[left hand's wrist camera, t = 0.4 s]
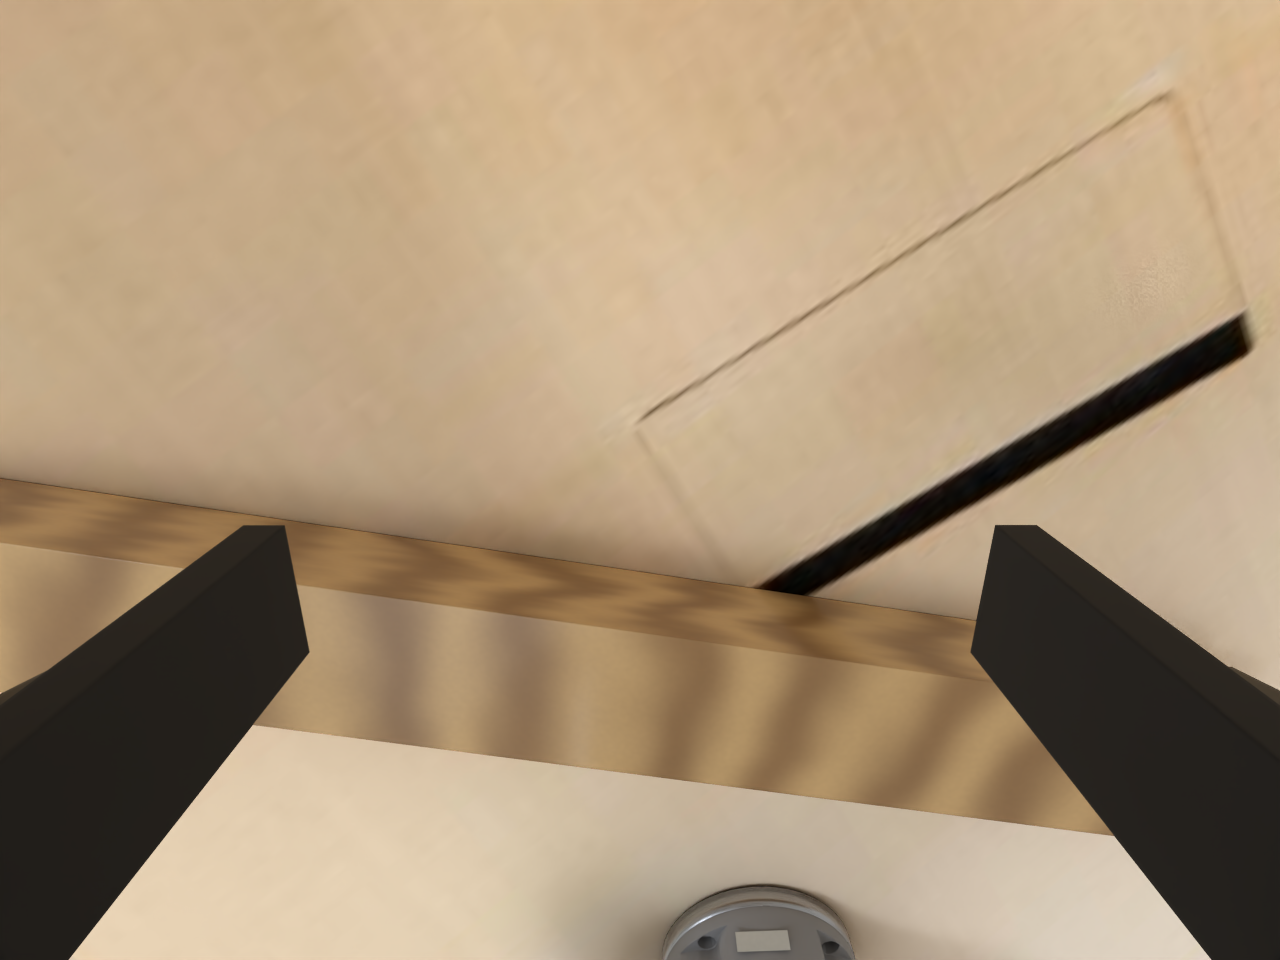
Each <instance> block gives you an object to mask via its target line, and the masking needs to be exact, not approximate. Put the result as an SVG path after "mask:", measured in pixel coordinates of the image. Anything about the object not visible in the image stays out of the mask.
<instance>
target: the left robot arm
mask: <svg viewBox="0 0 1280 960" xmlns="http://www.w3.org/2000/svg"><path fill="white" fill-rule="evenodd" d="M309 653H310V651H309V646H308V641H307V636H306V631H305V626H304V620H303V615H302V610H301V605H300V600H299V595H298V590H297V585H296V580H295V575H294V570H293V565H292V559H291V554H290V549H289V544H288V539H287V534H286V529H285V525H243V526H242V527H240V528H239V529H238V530H236V531H235V532H233V533H232V534H231V535H229V536H228V537H227V538H225V539H224V540H223V541H221V542H220V543H219V544H217V545H216V546H215V547H213V548H212V549H211V550H209V551H208V552H206V553H205V554H204V555H202V556H201V557H200V558H198V559H197V560H196V561H194V562H193V563H192V564H190V565H189V566H188V567H186V568H185V569H183V570H182V571H181V572H179V573H178V574H177V575H175V576H174V577H173V578H171V579H170V580H169V581H167V582H166V583H165V584H163V585H162V586H161V587H159V588H158V589H156V590H155V591H154V592H152V593H151V594H150V595H148V596H147V597H146V598H144V599H143V600H142V601H140V602H139V603H138V604H136V605H135V606H134V607H132V608H131V609H129V610H128V611H127V612H125V613H124V614H123V615H121V616H120V617H119V618H117V619H116V620H115V621H113V622H112V623H111V624H109V625H108V626H107V627H105V628H104V629H102V630H101V631H100V632H98V633H97V634H96V635H94V636H93V637H92V638H90V639H89V640H88V641H86V642H85V643H84V644H82V645H81V646H80V647H78V648H77V649H75V650H74V651H73V652H71V653H70V654H69V655H67V656H66V657H65V658H63V659H62V660H61V661H59V662H58V663H57V664H55V665H54V666H52V667H51V668H50V669H48V670H47V671H45V672H43V673H41V674H39V675H37V676H35V677H33V678H31V679H29V680H27V681H25V682H23V683H21V684H19V685H17V686H15V687H13V688H11V689H9V690H7V691H5V692H3V693H1V694H0V960H69V958H70V957H71V956H72V955H73V953H74V952H75V951H76V950H77V948H78V947H79V946H80V944H81V943H82V942H83V941H84V939H85V938H86V937H87V936H88V934H89V933H90V932H91V930H92V929H93V928H94V927H95V925H96V924H97V923H98V922H99V920H100V919H101V918H102V916H103V915H104V914H105V913H106V911H107V910H108V909H109V907H110V906H111V905H112V904H113V902H114V901H115V900H116V899H117V897H118V896H119V895H120V893H121V892H122V891H123V890H124V888H125V887H126V886H127V885H128V883H129V882H130V881H131V879H132V878H133V877H134V876H135V874H136V873H137V872H138V871H139V869H140V868H141V867H142V865H143V864H144V863H145V862H146V860H147V859H148V858H149V857H150V855H151V854H152V853H153V851H154V850H155V849H156V848H157V846H158V845H159V844H160V842H161V841H162V840H163V839H164V837H165V836H166V835H167V834H168V832H169V831H170V830H171V828H172V827H173V826H174V825H175V823H176V822H177V821H178V820H179V818H180V817H181V816H182V814H183V813H184V812H185V811H186V809H187V808H188V807H189V806H190V804H191V803H192V802H193V800H194V799H195V798H196V797H197V795H198V794H199V793H200V792H201V790H202V789H203V788H204V786H205V785H206V784H207V783H208V781H209V780H210V779H211V778H212V776H213V775H214V774H215V772H216V771H217V770H218V769H219V767H220V766H221V765H222V763H223V762H224V761H225V760H226V758H227V757H228V756H229V755H230V753H231V752H232V751H233V749H234V748H235V747H236V746H237V744H238V743H239V742H240V741H241V739H242V738H243V737H244V735H245V734H246V733H247V732H248V730H249V729H250V728H251V727H252V725H253V724H254V723H255V721H256V720H257V719H258V718H259V716H260V715H261V714H262V713H263V711H264V710H265V709H266V707H267V706H268V705H269V704H270V702H271V701H272V700H273V698H274V697H275V696H276V695H277V693H278V692H279V691H280V690H281V688H282V687H283V686H284V684H285V683H286V682H287V681H288V679H289V678H290V677H291V676H292V674H293V673H294V672H295V670H296V669H297V668H298V667H299V665H300V664H301V663H302V662H303V660H304V659H305V658H306V656H307V655H308V654H309ZM970 653H971V654H972V655H973V656H974V658H975V659H976V660H977V662H978V663H979V664H980V665H981V667H982V668H983V669H984V670H985V672H986V673H987V674H988V676H989V677H990V678H991V679H992V681H993V682H994V683H995V684H996V686H997V687H998V688H999V690H1000V691H1001V692H1002V693H1003V695H1004V696H1005V697H1006V699H1007V700H1008V701H1009V702H1010V704H1011V705H1012V706H1013V707H1014V709H1015V710H1016V711H1017V713H1018V714H1019V715H1020V716H1021V718H1022V719H1023V720H1024V721H1025V723H1026V724H1027V725H1028V727H1029V728H1030V729H1031V730H1032V732H1033V733H1034V734H1035V735H1036V737H1037V738H1038V739H1039V741H1040V742H1041V743H1042V744H1043V746H1044V747H1045V748H1046V749H1047V751H1048V752H1049V753H1050V755H1051V756H1052V757H1053V758H1054V760H1055V761H1056V762H1057V763H1058V765H1059V766H1060V767H1061V769H1062V770H1063V771H1064V772H1065V774H1066V775H1067V776H1068V778H1069V779H1070V780H1071V781H1072V783H1073V784H1074V785H1075V786H1076V788H1077V789H1078V790H1079V792H1080V793H1081V794H1082V795H1083V797H1084V798H1085V799H1086V800H1087V802H1088V803H1089V804H1090V806H1091V807H1092V808H1093V809H1094V811H1095V812H1096V813H1097V814H1098V816H1099V817H1100V818H1101V820H1102V821H1103V822H1104V823H1105V825H1106V826H1107V827H1108V828H1109V830H1110V831H1111V832H1112V834H1113V835H1114V836H1115V837H1116V839H1117V840H1118V841H1119V842H1120V844H1121V845H1122V846H1123V848H1124V849H1125V850H1126V851H1127V853H1128V854H1129V855H1130V857H1131V858H1132V859H1133V860H1134V862H1135V863H1136V864H1137V865H1138V867H1139V868H1140V869H1141V871H1142V872H1143V873H1144V874H1145V876H1146V877H1147V878H1148V879H1149V881H1150V882H1151V883H1152V885H1153V886H1154V887H1155V888H1156V890H1157V891H1158V892H1159V893H1160V895H1161V896H1162V897H1163V899H1164V900H1165V901H1166V902H1167V904H1168V905H1169V906H1170V907H1171V909H1172V910H1173V911H1174V913H1175V914H1176V915H1177V916H1178V918H1179V919H1180V920H1181V922H1182V923H1183V924H1184V925H1185V927H1186V928H1187V929H1188V930H1189V932H1190V933H1191V934H1192V936H1193V937H1194V938H1195V939H1196V941H1197V942H1198V943H1199V944H1200V946H1201V947H1202V948H1203V950H1204V951H1205V952H1206V953H1207V955H1208V956H1209V957H1210V958H1211V960H1280V691H1279V690H1277V689H1275V688H1273V687H1271V686H1269V685H1267V684H1265V683H1263V682H1261V681H1259V680H1257V679H1255V678H1253V677H1251V676H1249V675H1247V674H1245V673H1243V672H1241V671H1239V670H1237V669H1235V668H1233V667H1228V666H1226V665H1225V664H1223V663H1222V662H1221V661H1219V660H1218V659H1217V658H1215V657H1214V656H1213V655H1211V654H1210V653H1209V652H1207V651H1206V650H1205V649H1203V648H1202V647H1200V646H1199V645H1198V644H1196V643H1195V642H1194V641H1192V640H1191V639H1190V638H1188V637H1187V636H1186V635H1184V634H1183V633H1182V632H1180V631H1179V630H1178V629H1176V628H1175V627H1173V626H1172V625H1171V624H1169V623H1168V622H1167V621H1165V620H1164V619H1163V618H1161V617H1160V616H1159V615H1157V614H1156V613H1155V612H1153V611H1152V610H1151V609H1149V608H1148V607H1146V606H1145V605H1144V604H1142V603H1141V602H1140V601H1138V600H1137V599H1136V598H1134V597H1133V596H1132V595H1130V594H1129V593H1128V592H1126V591H1125V590H1124V589H1122V588H1121V587H1119V586H1118V585H1117V584H1115V583H1114V582H1113V581H1111V580H1110V579H1109V578H1107V577H1106V576H1105V575H1103V574H1102V573H1101V572H1099V571H1098V570H1097V569H1095V568H1094V567H1092V566H1091V565H1090V564H1088V563H1087V562H1086V561H1084V560H1083V559H1082V558H1080V557H1079V556H1078V555H1076V554H1075V553H1074V552H1072V551H1071V550H1069V549H1068V548H1067V547H1065V546H1064V545H1063V544H1061V543H1060V542H1059V541H1057V540H1056V539H1055V538H1053V537H1052V536H1051V535H1049V534H1048V533H1047V532H1045V531H1044V530H1042V529H1041V528H1040V527H1038V526H1037V525H995V529H994V534H993V539H992V544H991V549H990V554H989V559H988V565H987V570H986V575H985V580H984V585H983V590H982V595H981V600H980V605H979V610H978V615H977V620H976V626H975V631H974V636H973V641H972V646H971V651H970ZM662 960H855V956H854V952H853V949H852V946H851V942H850V939H849V935H848V932H847V930H846V928H845V926H844V924H843V922H842V921H841V920H840V918H839V917H838V916H837V915H836V914H835V913H834V912H833V911H832V910H831V909H830V908H829V907H828V906H826V905H825V904H823V903H822V902H820V901H818V900H817V899H815V898H813V897H811V896H808V895H806V894H803V893H800V892H797V891H793V890H789V889H784V888H777V887H746V888H739V889H734V890H729V891H726V892H722V893H719V894H716V895H714V896H711V897H709V898H707V899H705V900H703V901H701V902H699V903H697V904H696V905H694V906H693V907H691V908H690V909H688V910H687V911H686V912H685V913H684V914H682V915H681V916H680V917H679V918H678V919H677V921H676V922H675V923H674V924H673V926H672V927H671V929H670V930H669V932H668V934H667V936H666V938H665V941H664V945H663V950H662Z"/></svg>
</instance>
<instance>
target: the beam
mask: <svg viewBox="0 0 1280 960" xmlns="http://www.w3.org/2000/svg"><path fill="white" fill-rule="evenodd" d="M243 525H285V529H286V534H287V539H288V544H289V549H290V554H291V559H292V565H293V570H294V575H295V580H296V585H297V590H298V595H299V600H300V605H301V610H302V615H303V620H304V626H305V631H306V636H307V641H308V646H309V651H310V653H309V654H308V655H307V656H306V658H305V659H304V660H303V662H302V663H301V664H300V665H299V667H298V668H297V669H296V670H295V672H294V673H293V674H292V676H291V677H290V678H289V679H288V681H287V682H286V683H285V684H284V686H283V687H282V688H281V690H280V691H279V692H278V693H277V695H276V696H275V697H274V698H273V700H272V701H271V702H270V704H269V705H268V706H267V707H266V709H265V710H264V711H263V713H262V714H261V715H260V716H259V718H258V719H257V720H256V721H255V723H254V724H253V725H258V726H266V727H274V728H281V729H289V730H297V731H305V732H312V733H320V734H328V735H336V736H343V737H351V738H359V739H367V740H374V741H382V742H390V743H398V744H405V745H413V746H421V747H429V748H436V749H444V750H452V751H460V752H467V753H475V754H483V755H491V756H498V757H506V758H514V759H522V760H529V761H537V762H545V763H553V764H560V765H568V766H576V767H584V768H591V769H599V770H607V771H615V772H622V773H630V774H638V775H646V776H653V777H661V778H669V779H677V780H684V781H692V782H700V783H708V784H715V785H723V786H731V787H739V788H746V789H754V790H762V791H770V792H777V793H785V794H793V795H801V796H808V797H816V798H824V799H832V800H839V801H847V802H855V803H863V804H870V805H878V806H886V807H894V808H901V809H909V810H917V811H924V812H932V813H940V814H948V815H955V816H963V817H971V818H979V819H986V820H994V821H1002V822H1010V823H1017V824H1025V825H1033V826H1041V827H1048V828H1056V829H1064V830H1072V831H1079V832H1087V833H1095V834H1103V835H1110V836H1114V835H1113V834H1112V832H1111V831H1110V830H1109V828H1108V827H1107V826H1106V825H1105V823H1104V822H1103V821H1102V820H1101V818H1100V817H1099V816H1098V814H1097V813H1096V812H1095V811H1094V809H1093V808H1092V807H1091V806H1090V804H1089V803H1088V802H1087V800H1086V799H1085V798H1084V797H1083V795H1082V794H1081V793H1080V792H1079V790H1078V789H1077V788H1076V786H1075V785H1074V784H1073V783H1072V781H1071V780H1070V779H1069V778H1068V776H1067V775H1066V774H1065V772H1064V771H1063V770H1062V769H1061V767H1060V766H1059V765H1058V763H1057V762H1056V761H1055V760H1054V758H1053V757H1052V756H1051V755H1050V753H1049V752H1048V751H1047V749H1046V748H1045V747H1044V746H1043V744H1042V743H1041V742H1040V741H1039V739H1038V738H1037V737H1036V735H1035V734H1034V733H1033V732H1032V730H1031V729H1030V728H1029V727H1028V725H1027V724H1026V723H1025V721H1024V720H1023V719H1022V718H1021V716H1020V715H1019V714H1018V713H1017V711H1016V710H1015V709H1014V707H1013V706H1012V705H1011V704H1010V702H1009V701H1008V700H1007V699H1006V697H1005V696H1004V695H1003V693H1002V692H1001V691H1000V690H999V688H998V687H997V686H996V684H995V683H994V682H993V681H992V679H991V678H990V677H989V676H988V674H987V673H986V672H985V670H984V669H983V668H982V667H981V665H980V664H979V663H978V662H977V660H976V659H975V658H974V656H973V655H972V654H971V653H970V651H971V646H972V641H973V636H974V631H975V626H976V621H973V620H966V619H960V618H953V617H946V616H939V615H932V614H925V613H919V612H912V611H905V610H898V609H891V608H884V607H877V606H871V605H864V604H857V603H850V602H843V601H836V600H829V599H823V598H816V597H809V596H802V595H795V594H788V593H781V592H775V591H768V590H761V589H754V588H747V587H740V586H734V585H727V584H720V583H713V582H706V581H699V580H692V579H686V578H679V577H672V576H665V575H658V574H651V573H644V572H638V571H631V570H624V569H617V568H610V567H603V566H597V565H590V564H583V563H576V562H569V561H562V560H555V559H549V558H542V557H535V556H528V555H521V554H514V553H507V552H501V551H494V550H487V549H480V548H473V547H466V546H459V545H453V544H446V543H439V542H432V541H425V540H418V539H412V538H405V537H398V536H391V535H384V534H377V533H370V532H364V531H357V530H350V529H343V528H336V527H329V526H322V525H316V524H309V523H302V522H295V521H288V520H281V519H275V518H268V517H261V516H254V515H247V514H240V513H233V512H227V511H220V510H213V509H206V508H199V507H192V506H185V505H179V504H172V503H165V502H158V501H151V500H144V499H137V498H131V497H124V496H117V495H110V494H103V493H96V492H90V491H83V490H76V489H69V488H62V487H55V486H48V485H42V484H35V483H28V482H21V481H14V480H7V479H0V692H2V693H3V692H5V691H7V690H9V689H11V688H13V687H15V686H17V685H19V684H21V683H23V682H25V681H27V680H29V679H31V678H33V677H35V676H37V675H39V674H41V673H43V672H45V671H47V670H48V669H50V668H51V667H52V666H54V665H55V664H57V663H58V662H59V661H61V660H62V659H63V658H65V657H66V656H67V655H69V654H70V653H71V652H73V651H74V650H75V649H77V648H78V647H80V646H81V645H82V644H84V643H85V642H86V641H88V640H89V639H90V638H92V637H93V636H94V635H96V634H97V633H98V632H100V631H101V630H102V629H104V628H105V627H107V626H108V625H109V624H111V623H112V622H113V621H115V620H116V619H117V618H119V617H120V616H121V615H123V614H124V613H125V612H127V611H128V610H129V609H131V608H132V607H134V606H135V605H136V604H138V603H139V602H140V601H142V600H143V599H144V598H146V597H147V596H148V595H150V594H151V593H152V592H154V591H155V590H156V589H158V588H159V587H161V586H162V585H163V584H165V583H166V582H167V581H169V580H170V579H171V578H173V577H174V576H175V575H177V574H178V573H179V572H181V571H182V570H183V569H185V568H186V567H188V566H189V565H190V564H192V563H193V562H194V561H196V560H197V559H198V558H200V557H201V556H202V555H204V554H205V553H206V552H208V551H209V550H211V549H212V548H213V547H215V546H216V545H217V544H219V543H220V542H221V541H223V540H224V539H225V538H227V537H228V536H229V535H231V534H232V533H233V532H235V531H236V530H238V529H239V528H240V527H242V526H243Z"/></svg>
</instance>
